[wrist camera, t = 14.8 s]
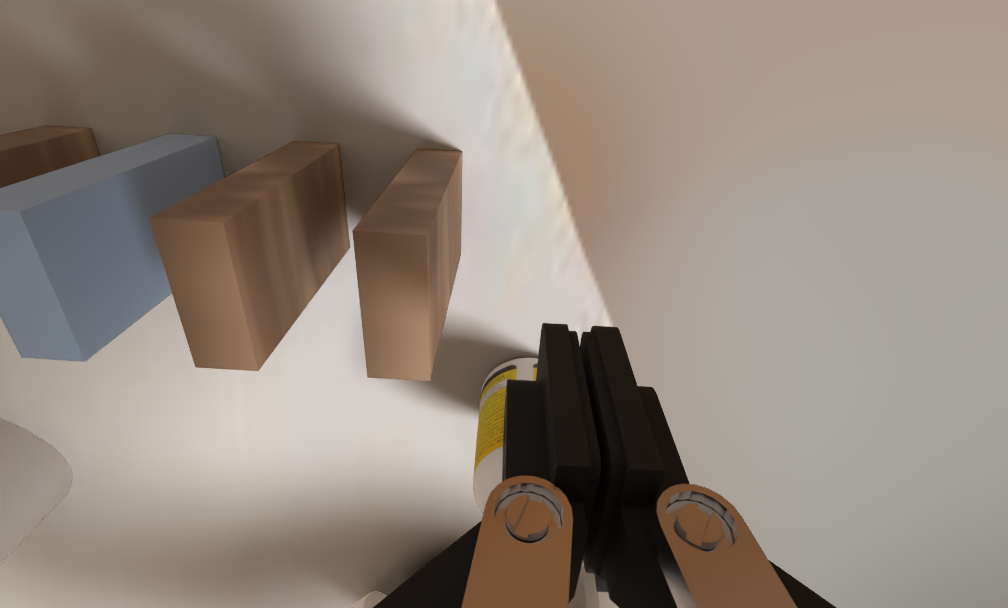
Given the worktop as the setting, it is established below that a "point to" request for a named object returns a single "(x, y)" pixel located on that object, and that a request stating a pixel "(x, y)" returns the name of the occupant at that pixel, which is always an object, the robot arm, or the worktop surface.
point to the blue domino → (93, 243)
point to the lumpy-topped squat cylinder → (27, 483)
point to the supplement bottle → (495, 425)
